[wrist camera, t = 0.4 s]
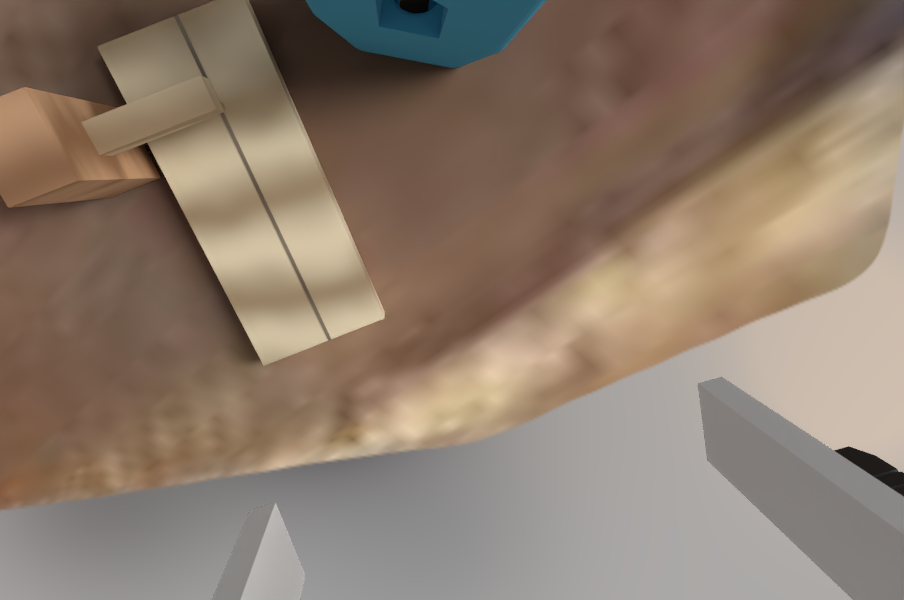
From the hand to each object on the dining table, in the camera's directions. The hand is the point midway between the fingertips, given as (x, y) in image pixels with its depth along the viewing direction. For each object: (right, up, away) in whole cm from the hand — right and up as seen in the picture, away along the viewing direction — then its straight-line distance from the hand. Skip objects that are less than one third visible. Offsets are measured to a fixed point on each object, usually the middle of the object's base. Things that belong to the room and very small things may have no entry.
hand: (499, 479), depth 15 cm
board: (-16, +13, +23) cm, 31 cm away
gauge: (-22, +17, +21) cm, 35 cm away
